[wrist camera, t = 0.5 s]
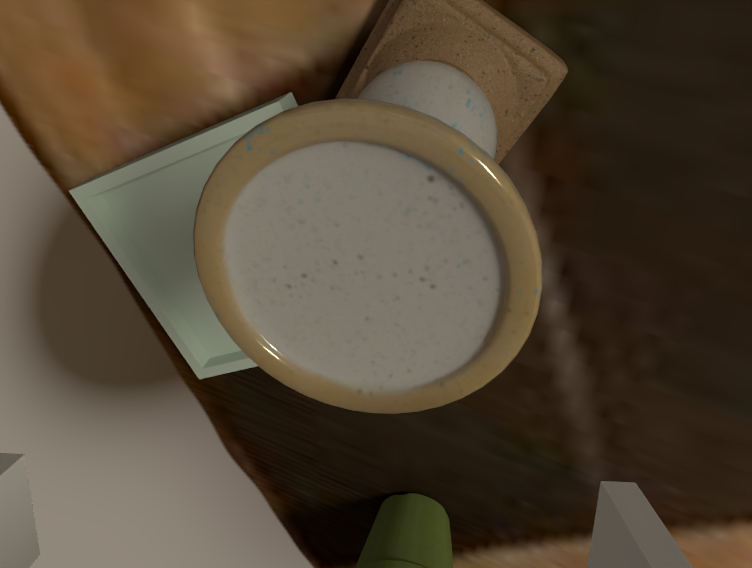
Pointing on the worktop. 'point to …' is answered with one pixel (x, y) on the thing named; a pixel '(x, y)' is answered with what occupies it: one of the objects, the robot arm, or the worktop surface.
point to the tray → (171, 233)
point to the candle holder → (386, 217)
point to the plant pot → (408, 535)
